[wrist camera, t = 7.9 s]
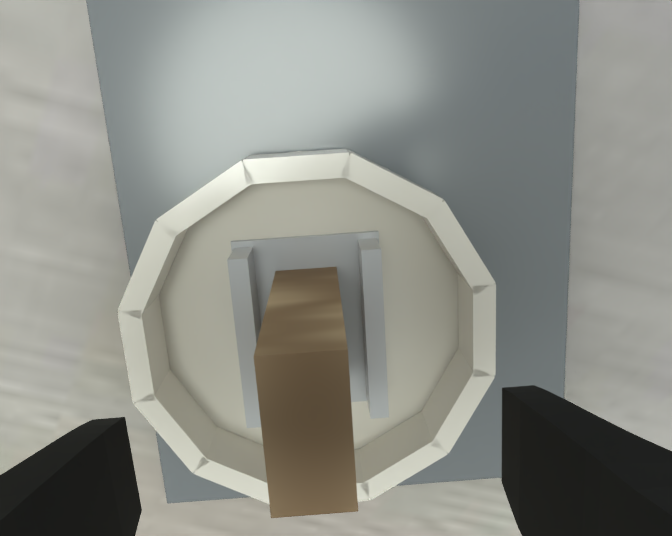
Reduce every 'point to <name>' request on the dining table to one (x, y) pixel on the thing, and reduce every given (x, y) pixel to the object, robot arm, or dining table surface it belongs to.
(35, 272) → the dining table surface
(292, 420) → the tan cardboard box
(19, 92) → the dining table surface
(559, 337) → the slate board
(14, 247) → the dining table surface
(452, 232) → the plate
